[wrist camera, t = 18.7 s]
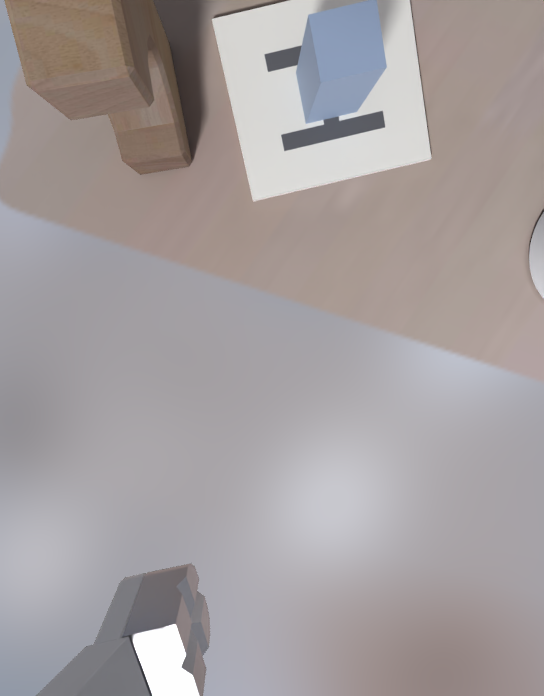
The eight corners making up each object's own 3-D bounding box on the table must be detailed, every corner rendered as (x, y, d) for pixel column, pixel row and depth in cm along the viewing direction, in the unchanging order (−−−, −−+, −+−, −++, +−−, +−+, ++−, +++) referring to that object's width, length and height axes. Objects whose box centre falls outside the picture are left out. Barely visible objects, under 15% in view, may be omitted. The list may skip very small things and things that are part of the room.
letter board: (403, -23, 37) (406, -28, 37) (428, 160, 41) (431, 158, 40) (212, 22, 37) (211, 18, 37) (253, 201, 41) (253, 200, 40)
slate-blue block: (348, 60, 38) (376, -2, 29) (356, 111, 39) (386, 67, 30) (295, 72, 38) (308, 14, 29) (305, 124, 39) (320, 82, 30)
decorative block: (193, 167, 40) (134, 74, 20) (135, 176, 40) (20, 90, 20) (171, 40, 38) (81, -203, 18) (110, 49, 38) (-48, -186, 18)
